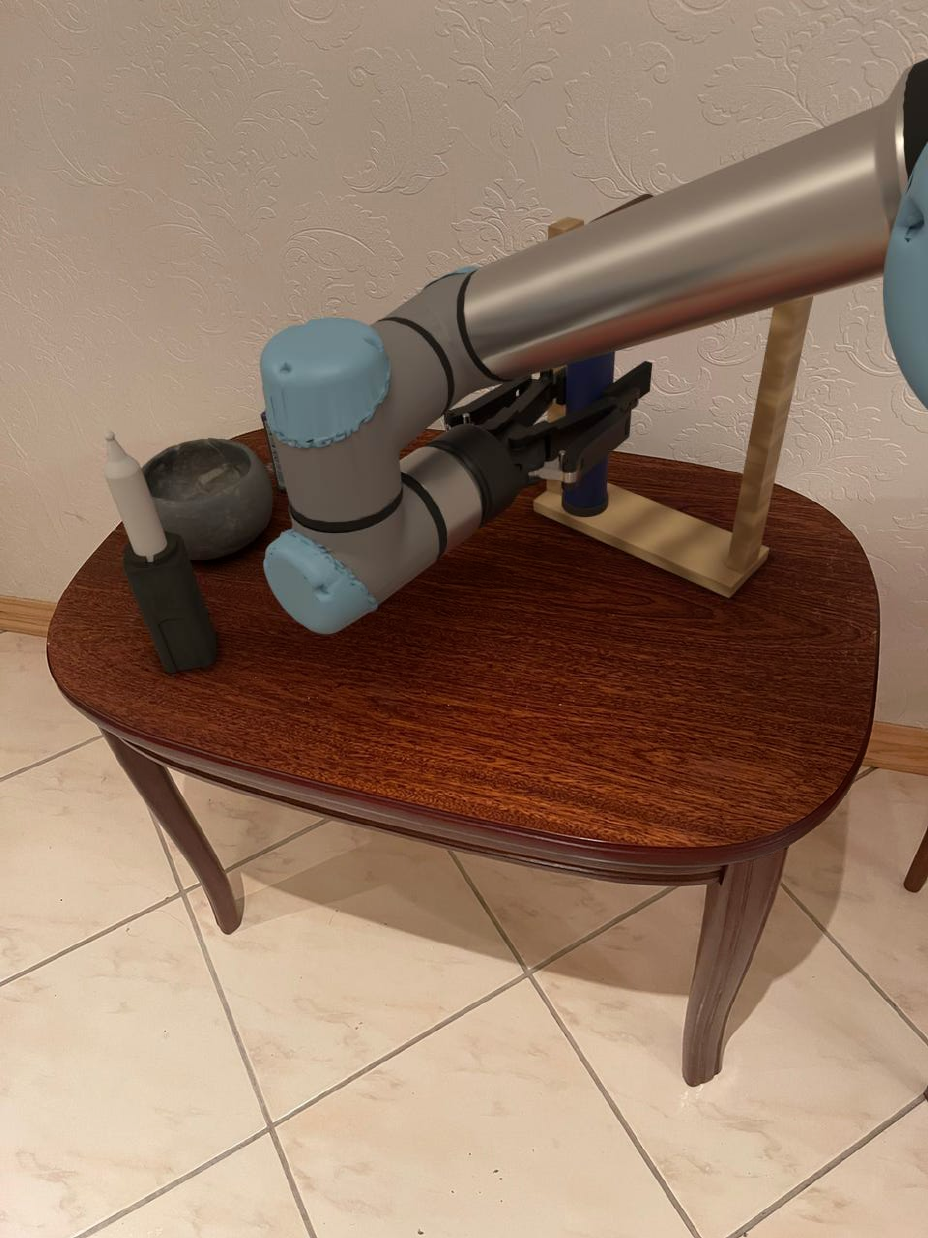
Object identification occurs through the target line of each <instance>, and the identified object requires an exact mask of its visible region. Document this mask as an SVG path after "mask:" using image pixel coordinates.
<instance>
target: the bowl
mask: <svg viewBox="0 0 928 1238" xmlns="http://www.w3.org/2000/svg"><path fill="white" fill-rule="evenodd" d="M141 470H142V473H143V475H144V478H145V481H146V484H147V487H148V489H149V492H150V495H151V498H152V501H153V503H154V506H155V509H156V512H157V515H158V517H159V520H160V523H161V526H162V529H163V531H167V532H170V533H176V534H179V535H181V537H182V538H183V541H184V544H185V547H186V550H187V553H188V556H189V559H190V561H191V560H192V561H208V560H209V561H210V560H216V559H219V558H222V557H226V556H228V555H232V554H234V553H236V552H238V551H241V549H244V548H246V546H248V545H250V544H251V543H253V542H254V541H255V540H256V539H257V538H258V537H259V536H260V535H261V534H262V533H263V532H264V531H265V529H266V528H267V526H268V525H269V523H270V520H271V518H272V511H273V506H274V505H273V503H274V495H273V493H274V492H273V485H272V481H271V478H270V475H269V473H268V470H267V468H266V467H265V465H264V463H263V461H262V460H261V459H260V458H259V456H258V455H257V453H255V452H254V450H253V449H252V448H250V447H249V446H248V445H245V444H243V443H241V442H239V441H235V440H231V439H226V438H214V437H208V438H199V439H193V440H187V441H182V442H180V443H178V444H174V445H171V446H168V447H166V448H165V449H163V450H162V451H160V452H158V453H157V454H155V455H154V456H153V457H151V458H150V459H149V460H147V462H145V463H144V465H142V467H141Z"/></svg>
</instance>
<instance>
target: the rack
mask: <svg viewBox="0 0 928 1238" xmlns="http://www.w3.org/2000/svg"><path fill="white" fill-rule="evenodd" d="M583 225H585V220H584V219H579V218H575V217H572V216H565V217H563V218H561V219H559V220H557V221H555V222H553V223H551V224H549V225H548V226H547V240H549V239H551V238H553V237H556V236H558V235H561V234H563V233H566V232H568V231H571V230H573V229H576V228H578V227H581V226H583ZM813 300H814V296H812V297H809V298H805V299H802V300H798V301H794V302H791V303H787V304H784V305H780V306H776V307H773V308H772V312H771V317H770V323H769V329H768V333H767V340H766V345H765V351H764V356H763V362H762V367H761V372H760V377H759V378H760V379H759V384H758V388H757V389H758V390H757V395H756V401H755V406H754V410H753V418H752V421H751V422H752V423H751V428H750V433H749V439H748V445H747V450H746V456H745V462H744V467H743V472H742V478H741V483H740V489H739V495H738V500H737V505H736V511H735V515H734V516H735V517H734V521H733V528H732V532H731V531H729V530H727V529H723V528H721V527H719V526H716V525H714V524H712V523H709V522H706V521H704V520H701V519H699V518H696V517H695V516H691V515H689V514H686V513H684V512H681V511H680V510H676V509H674V508H671V507H670V506H667V505H664V504H662V503H659V502H657V501H654V500H651V499H649V498H646V497H644V496H641V495H639V494H638V493H634V492H632V491H629V490H627V489H625V488H622V487H620V486H617V485H615V484H613V483H610V482H607V491H608V494H609V502H608V507H607V509H606V510H605V511H604V512H603V513H601V514H599V515H597V516H593V517H577V516H573V515H571V514H569V513H567V512H566V511H565V510H564V509H563V507H562V504H561V501H562V492H563V490H562V488H561V481H556V480H549V479H546V490H545V491H544V492H543V493H541V494H540V495H538V496H537V497H536V498H535V499H533V501H532V502H533V504H532V505H533V512H535V513H537V514H539V515H541V516H545V517H546V518H548V519H551V520H553V521H555V522H558V523H560V524H562V525H564V526H566V527H568V528H571V529H573V530H576V531H577V532H580V533H582V534H584V535H587V536H588V537H591V538H593V539H595V540H597V541H600V542H602V543H604V544H607V545H609V546H611V547H613V548H615V549H618V550H620V551H621V552H624V553H627V554H629V555H631V556H634V557H635V558H638V559H640V560H643V561H645V562H647V563H649V564H651V565H654V566H656V567H658V568H659V569H662V570H665V571H667V572H670V573H672V574H674V575H676V576H678V577H681V578H683V579H685V580H687V581H690V582H691V583H694V584H696V585H698V586H700V587H702V588H705V589H707V590H709V591H711V592H714V593H716V594H719V595H721V596H723V597H725V598H728V599H730V598H731V597H732V596H733V595H734V594H735V593H736V592H737V590H739V589H740V588H741V587H742V585H743V584H744V583H745V582H746V581H747V580H748V579H750V577H751V576H752V575H753V574H754V573H755V572H756V571H757V570H758V569H759V568H760V567H761V566H762V565H763V564H764V563H765V562H766V561H767V560H768V556H769V552H770V547H768V546H766V545H763V544H762V542H763V537H764V532H765V529H766V528H765V527H766V523H767V518H768V514H769V508H770V504H771V500H772V495H773V489H774V484H775V480H776V476H777V471H778V466H779V462H780V457H781V452H782V447H783V442H784V437H785V432H786V430H787V429H786V428H787V424H788V419H789V414H790V409H791V405H792V400H793V396H794V390H795V386H796V380H797V376H798V371H799V366H800V362H801V357H802V352H803V347H804V343H805V338H806V333H807V328H808V325H809V321H810V315H811V310H812V305H813ZM565 366H566V365H565ZM565 366H561V367H558V368H554V369H553V374H554V373H555V372H557V371H558V370H560V369H561V368H563V367H565ZM565 405H566V404H565ZM565 405H564V406H561V405H558V404H556V398H554V399H553V404H552V406H551V407H550V408H549V409H548V410H547V411H546V421H548V422H550V423H551V422H553V421H555V420H557V419H559V418H562V417H564V416H565ZM558 457H559V456H558Z"/></svg>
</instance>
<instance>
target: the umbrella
mask: <svg viewBox="0 0 928 1238" xmlns="http://www.w3.org/2000/svg"><path fill="white" fill-rule="evenodd" d="M654 196H655V195H653V193H648V192H647V193H646V192H645V193H643V194H641V195H639V196H637V197H635V198H634V199H633V198H632V199H631V200H629V201H627V202H625V203H624V204H622V205H620V206H618V207H616V208H614V209H612V210H610V211H608V212H606V213H604V214H602V215H600V216H598V217H597V218H594V219H592V220H590V221H589V222H588V223H590V222H593V221H595V220H598V219H600V218H603V217H605V216H608V215H610V214H612V213H615V212H617V211H620V210H622V209H625V208H627V207H630V206H632V205H635V204H637V203H639V202H642V201H644V200H647V199H649V198H652V197H654ZM615 362H616V351H615V352H611V353H608V354H604V355H601V356H597V357H593V358H590V359H586V360H583V361H579V362H576V363H572V364H568V365H566V405H565V416H566V415H568V414H570V413H572V412H575V411H577V410H579V409H581V408H583V407H585V406H588V405H590V404H592V403H594V402H596V401H598V400H600V399H601V397H602V390H604V389H605V388H606V387H608V386H609V385H611V384H612V383H614V382H615V381H614V377H615ZM609 460H610V454H608V455H607V456H606V457H605V458H604V459H602V460H601V461H600V462H599V463H598V464H596V465H595V466H594V467H593V468H591V469H590V470H589V471H588V472H587V473H585V474H584V475H583V476H582V477H581V480H580V482H579V484H578V487H577V489H576V490H574V491H571V492H568V491H564V490H563V492H562V501H561V504H562V507H563V509H564V510H565V511H566V512H567V513H569V514H571V515H573V516H577V517H593V516H597V515H599V514H601V513H603V512H604V511H605V510H606V509H607V507H608V502H609V494H608V491H607V483H609V482H608V480H609V464H610V463H609V462H610V461H609Z"/></svg>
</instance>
